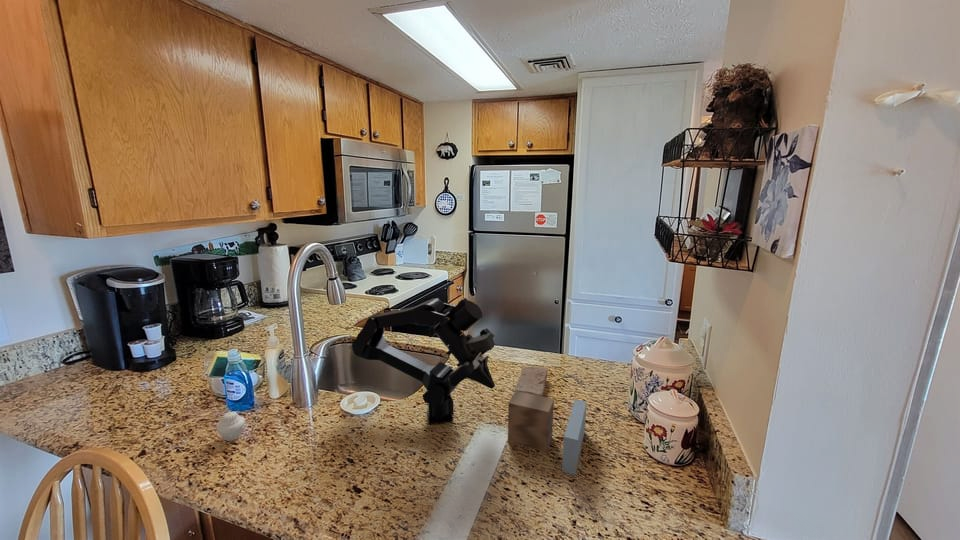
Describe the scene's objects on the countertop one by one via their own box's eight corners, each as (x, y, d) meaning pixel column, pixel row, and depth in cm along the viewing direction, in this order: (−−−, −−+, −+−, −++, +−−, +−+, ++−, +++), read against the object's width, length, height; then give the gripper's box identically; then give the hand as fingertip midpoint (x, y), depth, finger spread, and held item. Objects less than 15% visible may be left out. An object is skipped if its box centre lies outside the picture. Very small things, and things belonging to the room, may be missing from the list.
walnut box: (507, 441, 95) (508, 402, 93) (514, 428, 101) (515, 390, 98) (547, 452, 92) (548, 412, 89) (552, 437, 97) (553, 398, 95)
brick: (541, 408, 110) (542, 393, 109) (513, 403, 112) (513, 389, 111) (547, 380, 126) (547, 367, 125) (522, 377, 128) (522, 364, 127)
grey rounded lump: (251, 435, 98) (247, 411, 96) (225, 448, 93) (221, 423, 91) (240, 426, 101) (236, 403, 100) (214, 439, 96) (209, 414, 95)
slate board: (561, 471, 85) (563, 436, 83) (572, 429, 100) (574, 399, 98) (575, 475, 84) (577, 440, 82) (584, 432, 99) (586, 401, 97)
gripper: (461, 336, 87) (504, 389, 85) (488, 311, 104) (525, 356, 102) (430, 361, 91) (471, 412, 90) (461, 334, 108) (496, 376, 107)
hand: (493, 387), depth 97 cm, fingers closed
